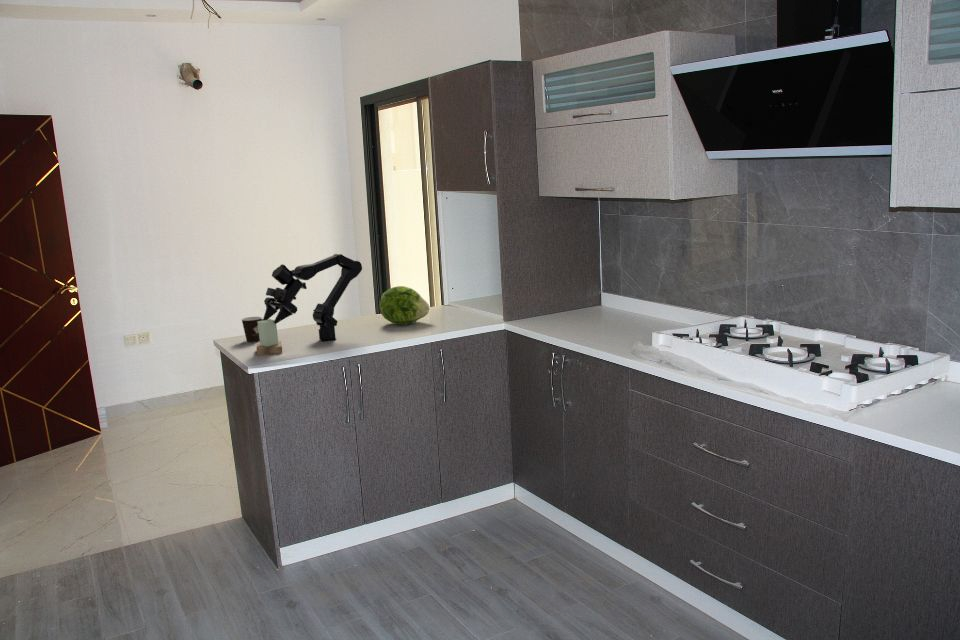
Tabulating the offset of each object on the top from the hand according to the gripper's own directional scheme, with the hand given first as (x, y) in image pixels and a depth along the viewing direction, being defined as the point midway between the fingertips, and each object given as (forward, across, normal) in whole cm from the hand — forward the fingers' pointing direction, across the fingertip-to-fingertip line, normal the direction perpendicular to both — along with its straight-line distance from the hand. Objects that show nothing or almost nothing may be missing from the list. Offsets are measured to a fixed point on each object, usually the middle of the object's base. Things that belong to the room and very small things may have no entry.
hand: (269, 321), depth 329 cm
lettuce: (-39, +1, +58) cm, 70 cm away
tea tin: (+7, 0, +6) cm, 9 cm away
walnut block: (+10, 0, +8) cm, 13 cm away
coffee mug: (+4, -26, +14) cm, 30 cm away
